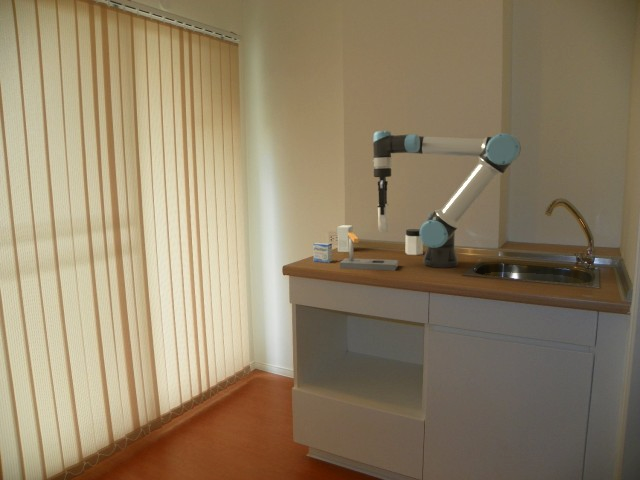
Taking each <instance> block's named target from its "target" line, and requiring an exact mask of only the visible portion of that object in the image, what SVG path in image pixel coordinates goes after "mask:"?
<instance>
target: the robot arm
mask: <svg viewBox="0 0 640 480" xmlns="http://www.w3.org/2000/svg"><path fill="white" fill-rule="evenodd" d="M372 144H373V145H372V146H373V160H372V161H371V163H373V167H374V168H373V177H374V178H378V181H377V187H378V190H377V191H378V204H379V206H378V205H377V208H378V207H379V222H386V207H385V204H388V193H387V192H388V185H389V183H388V180H387V178H390V177H392V154H419V155H420V154H421V155H423V154H424V155H439V156H453V157H469V158H478V162H477V163H476V165H475V166H474V167H473V169H472V170H471V171H470V173H469V174H468V175H467V176H466V177H465V179H464V180H463V181H462V182H461V183H460V185H459V186H458V187H457V188H456V190H455V191H454V192H453V194H452V195H451V196H450V197H449V199H447V201H446V202H445V204H444V205H442V207H441V208H440V209H435V210H434V211H433V212H432V213H428V216H427V220H426V221H424V222H423V223H422V224H421V226H420V228H419V229H420V231H419V235H420V239H421V241H422V242H423V245H425V246H426V247H427V248H426V250H425V254H424V256H423V260H422V261H423V265H425V266H426V267H431V268H442V269H443V268H445V269H446V268H454V267H457V266H459V265H458V264H459V259H458V255H457V251H456V250H455V238H456V237H455V236H456V235H455V234H456V233H455V232H456V230H457V229H458V228H459V221H460V220H461V219H462V217H463V216H464V215H465V214H466V213H467V212H468V210H469V209H470V208H471V206H472V205H473V204H474V203H475V202H476V201H477V200H478V198H479V197H480V195H482V194H483V192H484V191H485V190H486V189H487V188H488V186H489V185H490V183H492V181H493V180H494V179H495V178H496V176H498V175H503V174H504V173H505V172H506V171H507V169H509V167H510V166H511V165H512V164H513V162H514V161H516V160H517V159H518V157H519V156H520V154H521V143H520V141H519V140H518V138H516V137H515V135H512V134H511V133H507V132H506V133H505V132H501V133H498V134H496V135H493V136H486V137H485V138H465V137H463V138H462V137H445V136H443V137H442V136H441V137H440V136H424V135H423V136H421V135H420V136H419V135H418V134H416V133H414V134H412V133H409V134H398V135H392V132H391V131H390V130H384V131H383V130H377V131H375V132H374V133H373V142H372Z"/></svg>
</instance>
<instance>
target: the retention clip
mask: <svg viewBox="0 0 640 480" xmlns="http://www.w3.org/2000/svg"><path fill="white" fill-rule="evenodd" d="M348 237H350V238H351V239H352V241H353V244H354V243H359V237H358V236H356V234H355V232H353V233H348Z"/></svg>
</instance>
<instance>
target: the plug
mask: <svg viewBox="0 0 640 480" xmlns="http://www.w3.org/2000/svg"><path fill="white" fill-rule="evenodd" d="M378 206H379V203H378V204H377V213H378V215H377V218H378V219H377V229H378V233H388V232H389V204H388V203H387V204H385V207H386V222H379V207H378Z"/></svg>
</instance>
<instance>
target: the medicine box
mask: <svg viewBox="0 0 640 480" xmlns="http://www.w3.org/2000/svg"><path fill="white" fill-rule="evenodd" d="M312 247H313V262H314V263H325V264H326V263H327V264H329V263H331V262H333V243H329V242H328V243H326V242H315V243H313V246H312Z"/></svg>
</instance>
